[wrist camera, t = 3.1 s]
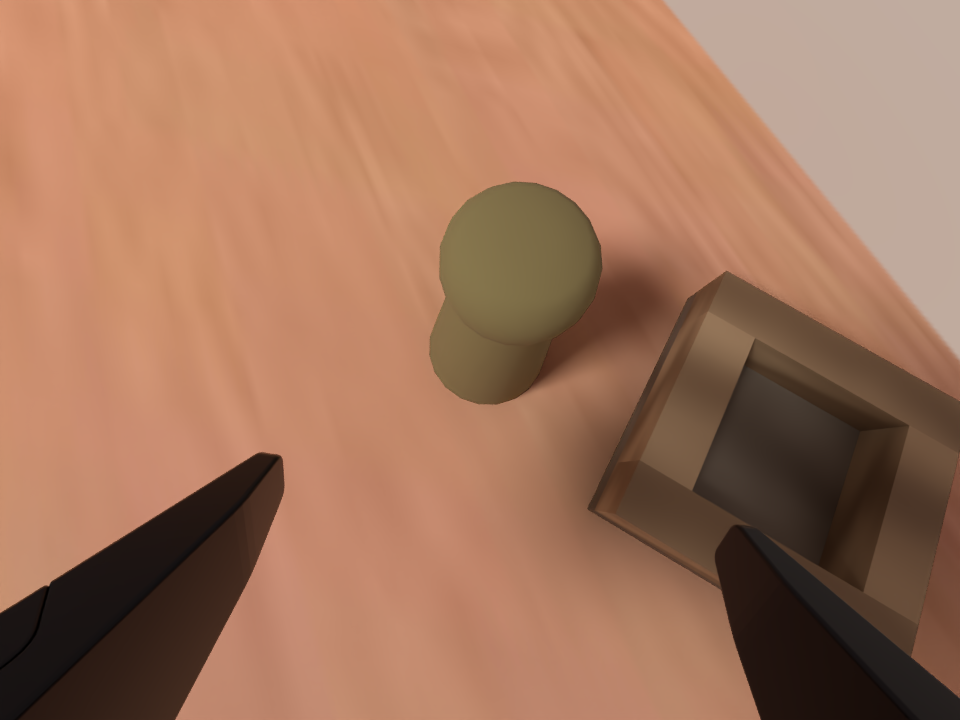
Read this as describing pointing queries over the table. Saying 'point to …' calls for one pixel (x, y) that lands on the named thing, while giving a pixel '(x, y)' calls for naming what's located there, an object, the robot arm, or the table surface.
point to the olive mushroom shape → (510, 288)
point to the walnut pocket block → (788, 453)
